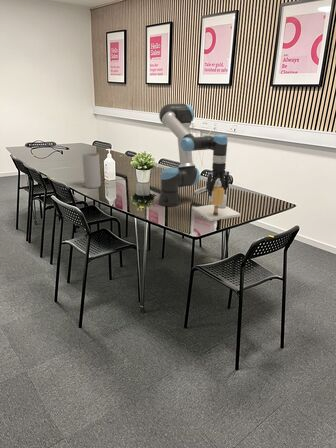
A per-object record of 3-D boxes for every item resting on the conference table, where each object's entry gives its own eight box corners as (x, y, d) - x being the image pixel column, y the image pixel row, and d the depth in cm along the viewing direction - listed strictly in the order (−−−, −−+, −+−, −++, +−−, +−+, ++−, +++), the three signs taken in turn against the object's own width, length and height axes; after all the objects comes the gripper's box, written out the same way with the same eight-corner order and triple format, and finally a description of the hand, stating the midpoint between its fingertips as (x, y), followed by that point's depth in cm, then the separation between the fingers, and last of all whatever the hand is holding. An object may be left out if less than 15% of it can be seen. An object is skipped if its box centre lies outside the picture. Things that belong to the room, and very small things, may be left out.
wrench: (194, 197, 251) (220, 186, 268) (195, 198, 250) (222, 186, 266) (193, 187, 247) (220, 176, 264) (195, 188, 246) (222, 177, 263)
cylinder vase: (102, 184, 271) (100, 153, 261) (98, 188, 259) (96, 156, 250) (87, 183, 272) (85, 152, 262) (82, 188, 260) (79, 155, 251)
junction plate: (192, 209, 218) (192, 195, 214) (221, 205, 226) (222, 191, 223) (209, 221, 199) (210, 206, 196) (240, 216, 208) (241, 201, 204)
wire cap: (208, 202, 204) (209, 186, 201) (218, 201, 207) (219, 185, 203) (214, 205, 199) (215, 189, 195) (224, 204, 201) (225, 188, 198)
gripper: (207, 164, 187) (205, 204, 195) (237, 162, 194) (234, 200, 203) (200, 162, 193) (199, 200, 201) (230, 159, 201) (227, 196, 209)
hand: (216, 200), depth 202 cm, fingers closed on wire cap, 7 cm apart
